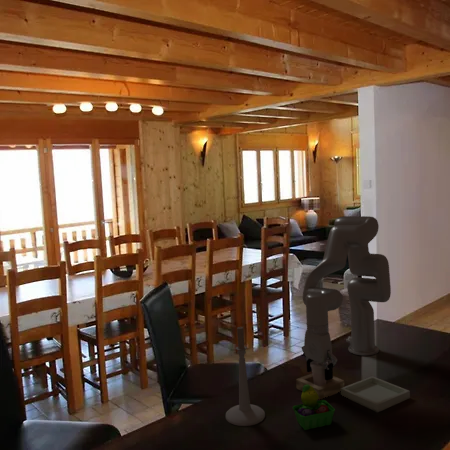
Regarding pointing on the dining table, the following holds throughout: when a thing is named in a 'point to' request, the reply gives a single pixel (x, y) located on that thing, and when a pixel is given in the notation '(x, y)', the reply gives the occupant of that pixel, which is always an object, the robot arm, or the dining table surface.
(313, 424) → the fruit basket
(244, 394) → the candlestick
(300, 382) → the holder
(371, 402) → the tray
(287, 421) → the dining table surface
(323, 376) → the smoothie
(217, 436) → the dining table surface
